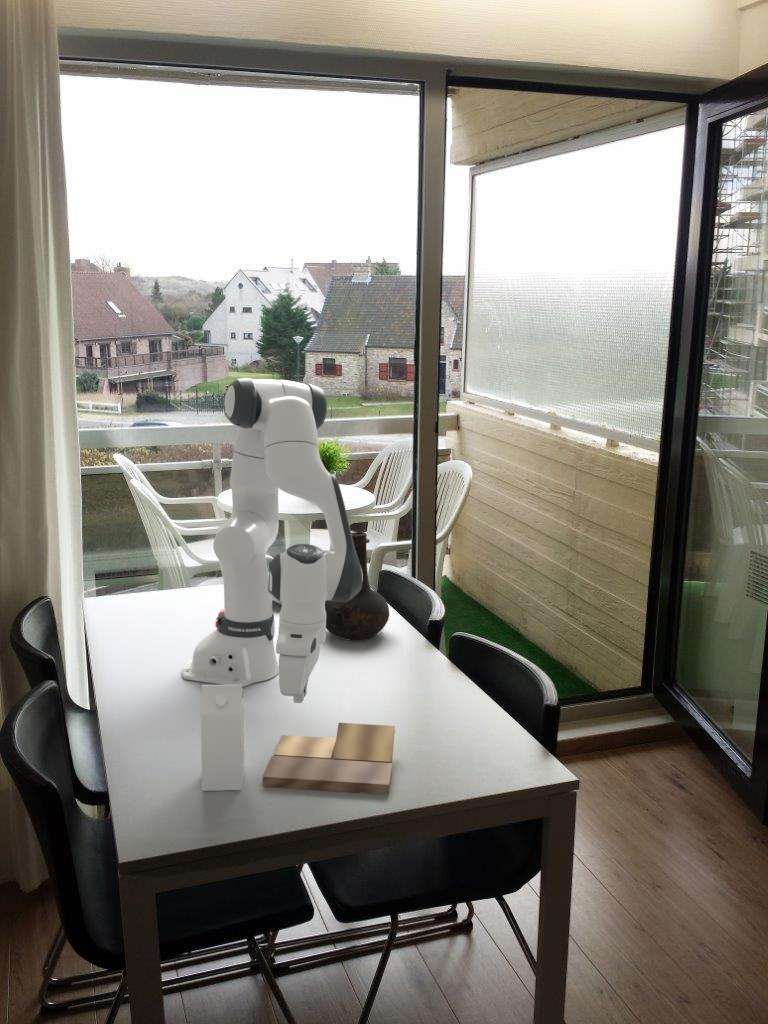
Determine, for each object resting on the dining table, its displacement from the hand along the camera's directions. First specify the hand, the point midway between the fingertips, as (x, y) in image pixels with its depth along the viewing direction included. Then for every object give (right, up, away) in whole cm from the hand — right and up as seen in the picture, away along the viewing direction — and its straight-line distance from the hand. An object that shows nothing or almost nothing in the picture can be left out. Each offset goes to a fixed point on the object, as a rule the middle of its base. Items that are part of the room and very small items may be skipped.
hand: (300, 698), depth 179 cm
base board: (+6, -14, -7) cm, 16 cm away
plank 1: (+1, -11, +2) cm, 12 cm away
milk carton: (-13, -14, -8) cm, 21 cm away
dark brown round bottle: (+8, +3, +67) cm, 68 cm away
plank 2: (+12, -10, +1) cm, 16 cm away
